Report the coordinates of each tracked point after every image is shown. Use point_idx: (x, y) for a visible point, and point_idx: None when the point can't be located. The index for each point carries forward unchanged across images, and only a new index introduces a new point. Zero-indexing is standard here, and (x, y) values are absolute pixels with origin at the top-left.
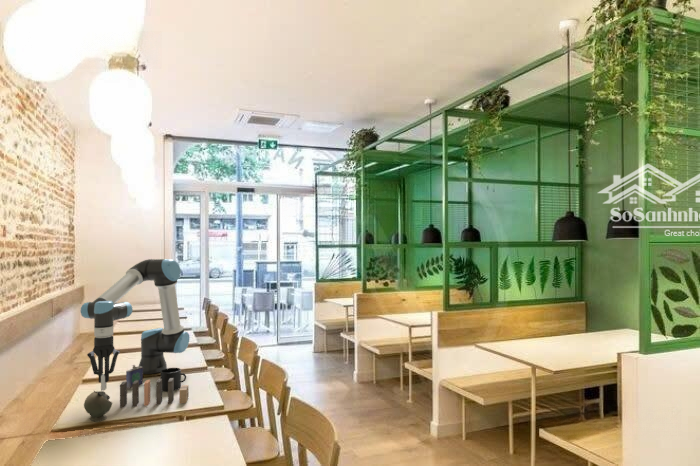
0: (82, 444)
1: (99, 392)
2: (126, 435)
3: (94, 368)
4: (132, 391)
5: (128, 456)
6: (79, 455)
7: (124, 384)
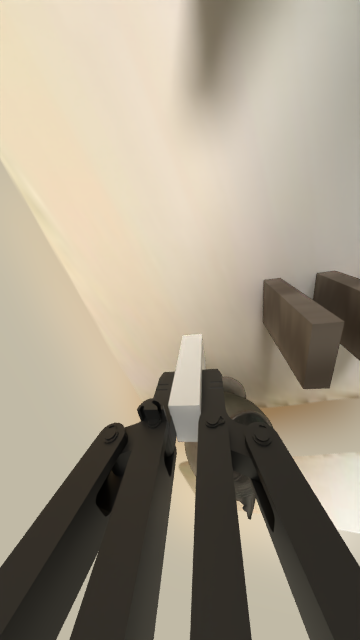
0: None
1: (239, 489)
2: (323, 475)
3: (100, 527)
4: (355, 354)
5: (337, 523)
6: (254, 506)
7: (330, 373)
